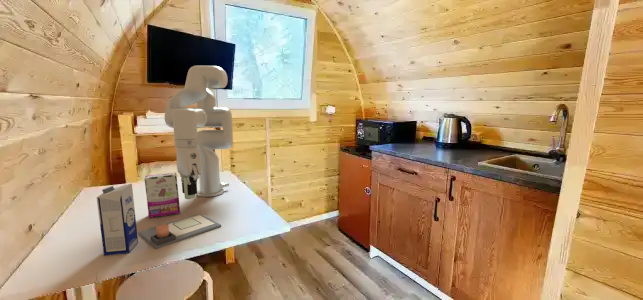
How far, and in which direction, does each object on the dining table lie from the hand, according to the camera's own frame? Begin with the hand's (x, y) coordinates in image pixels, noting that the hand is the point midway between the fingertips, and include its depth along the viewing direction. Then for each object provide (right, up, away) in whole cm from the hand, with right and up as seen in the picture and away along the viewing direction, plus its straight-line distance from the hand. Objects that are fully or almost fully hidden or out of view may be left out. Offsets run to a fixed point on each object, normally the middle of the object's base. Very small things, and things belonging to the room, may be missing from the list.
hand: (189, 192), depth 106 cm
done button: (-3, -12, -11) cm, 17 cm away
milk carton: (-14, -15, -16) cm, 26 cm away
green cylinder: (0, -2, 0) cm, 2 cm away
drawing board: (-2, -13, -3) cm, 13 cm away
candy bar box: (-16, -11, +12) cm, 22 cm away
